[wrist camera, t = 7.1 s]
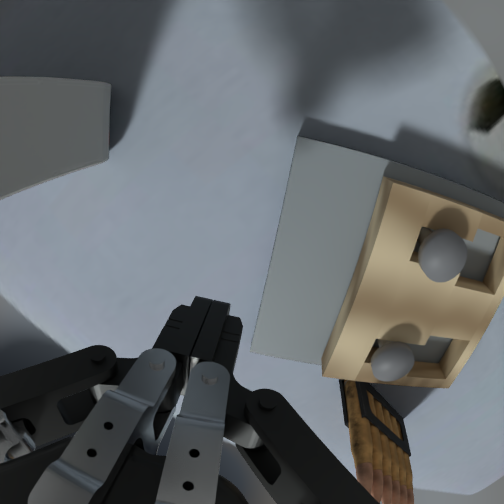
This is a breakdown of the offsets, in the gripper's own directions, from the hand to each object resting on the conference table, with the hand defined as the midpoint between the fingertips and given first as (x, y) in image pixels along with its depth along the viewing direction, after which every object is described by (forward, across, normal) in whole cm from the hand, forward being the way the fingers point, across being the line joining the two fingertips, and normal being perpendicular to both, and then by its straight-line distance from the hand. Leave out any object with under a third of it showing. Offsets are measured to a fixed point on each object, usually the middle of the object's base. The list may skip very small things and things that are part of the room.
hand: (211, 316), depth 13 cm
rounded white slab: (+10, +24, -5) cm, 26 cm away
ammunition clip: (+9, -15, +14) cm, 22 cm away
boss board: (+9, -11, +1) cm, 14 cm away
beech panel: (+7, -13, +1) cm, 15 cm away
